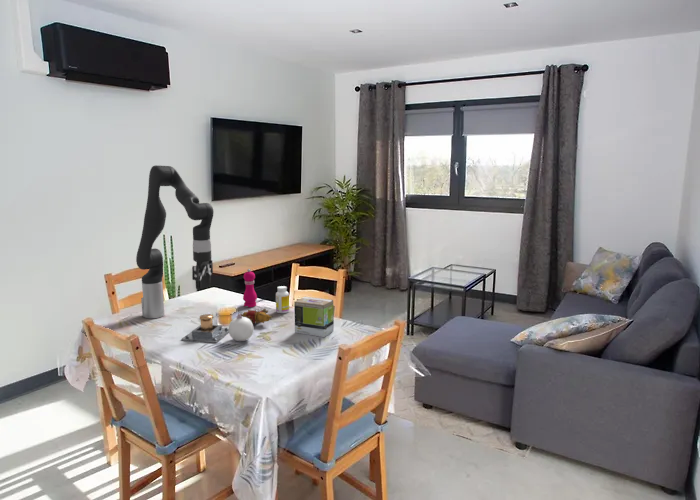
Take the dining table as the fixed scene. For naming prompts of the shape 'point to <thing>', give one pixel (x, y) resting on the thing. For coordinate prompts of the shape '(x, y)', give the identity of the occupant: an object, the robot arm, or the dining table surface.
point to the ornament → (240, 328)
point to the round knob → (206, 322)
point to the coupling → (207, 334)
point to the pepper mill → (249, 289)
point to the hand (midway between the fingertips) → (203, 286)
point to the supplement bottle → (282, 300)
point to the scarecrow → (257, 316)
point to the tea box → (314, 316)
